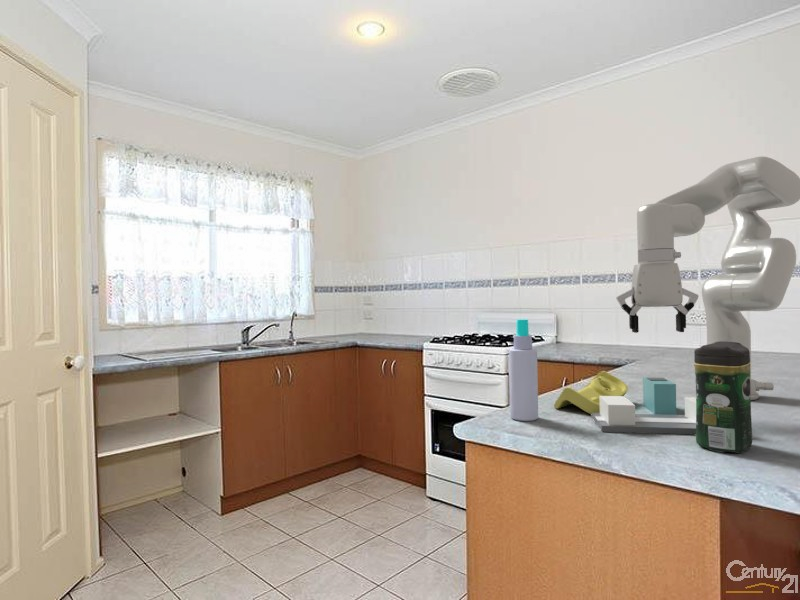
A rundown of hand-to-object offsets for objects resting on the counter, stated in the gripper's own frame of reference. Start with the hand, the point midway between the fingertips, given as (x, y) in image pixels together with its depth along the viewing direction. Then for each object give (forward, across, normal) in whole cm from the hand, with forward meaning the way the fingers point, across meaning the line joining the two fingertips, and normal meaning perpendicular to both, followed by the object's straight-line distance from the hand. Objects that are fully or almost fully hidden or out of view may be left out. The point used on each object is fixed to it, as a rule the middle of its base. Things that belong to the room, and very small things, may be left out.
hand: (657, 331), depth 117 cm
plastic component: (+19, +14, -3) cm, 23 cm away
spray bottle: (+18, +31, +11) cm, 38 cm away
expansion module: (+18, 0, 0) cm, 18 cm away
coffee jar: (+18, -2, +28) cm, 33 cm away
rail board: (+18, +4, +15) cm, 24 cm away
